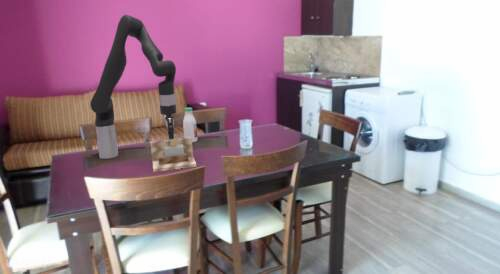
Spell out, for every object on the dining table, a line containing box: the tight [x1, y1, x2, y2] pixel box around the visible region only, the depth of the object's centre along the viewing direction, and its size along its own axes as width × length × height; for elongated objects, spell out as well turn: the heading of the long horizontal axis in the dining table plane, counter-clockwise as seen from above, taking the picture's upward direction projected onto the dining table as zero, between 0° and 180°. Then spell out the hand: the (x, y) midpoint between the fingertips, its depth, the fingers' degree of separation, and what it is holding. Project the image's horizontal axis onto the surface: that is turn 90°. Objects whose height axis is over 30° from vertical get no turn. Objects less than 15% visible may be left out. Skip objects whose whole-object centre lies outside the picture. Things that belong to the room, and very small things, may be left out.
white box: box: [164, 133, 184, 157], centre depth 189 cm, size 9×5×13 cm, turn 103°
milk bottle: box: [182, 106, 199, 144], centre depth 226 cm, size 8×8×20 cm
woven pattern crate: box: [149, 137, 197, 173], centre depth 187 cm, size 20×14×11 cm
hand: (170, 136), depth 187 cm, fingers open, 8 cm apart
